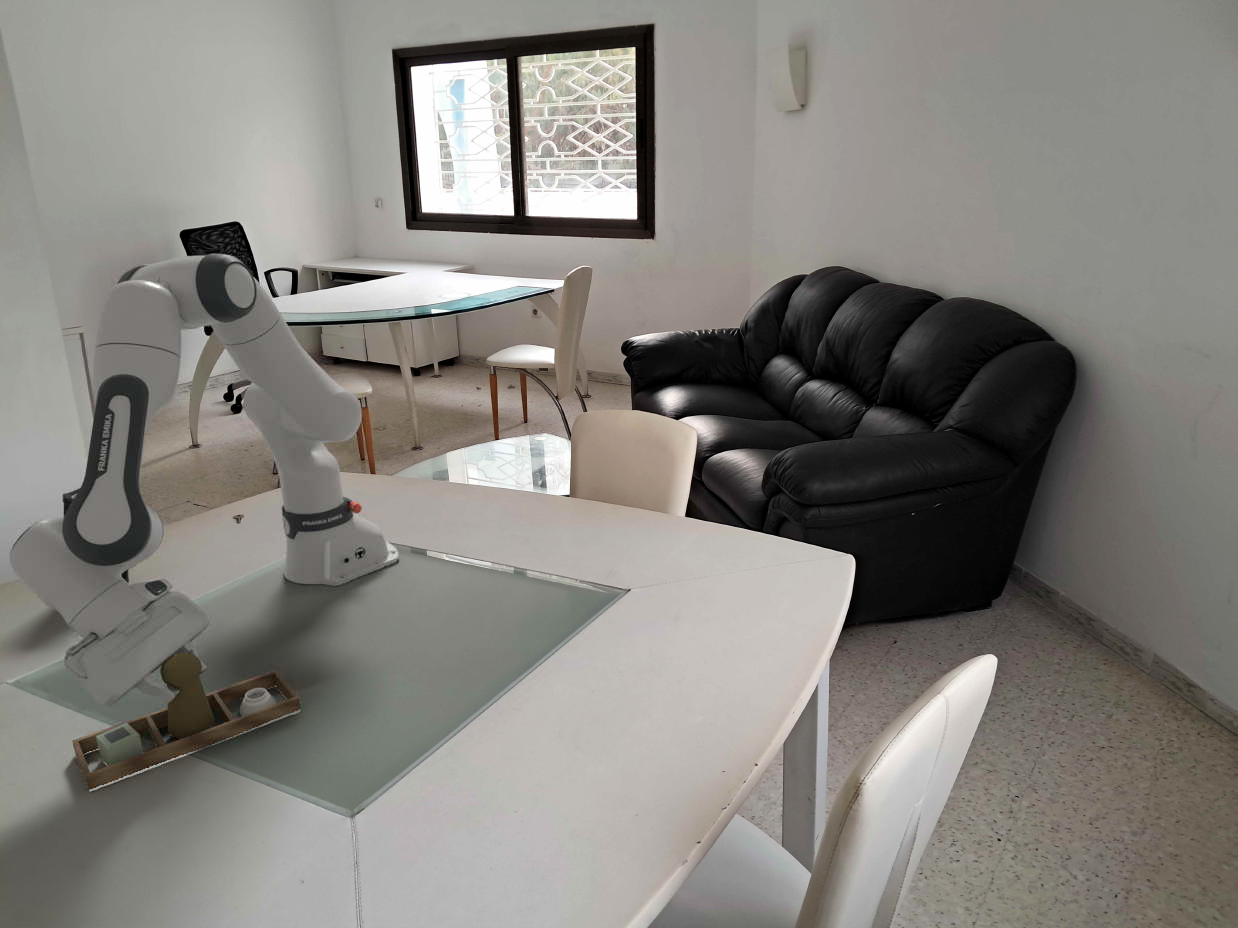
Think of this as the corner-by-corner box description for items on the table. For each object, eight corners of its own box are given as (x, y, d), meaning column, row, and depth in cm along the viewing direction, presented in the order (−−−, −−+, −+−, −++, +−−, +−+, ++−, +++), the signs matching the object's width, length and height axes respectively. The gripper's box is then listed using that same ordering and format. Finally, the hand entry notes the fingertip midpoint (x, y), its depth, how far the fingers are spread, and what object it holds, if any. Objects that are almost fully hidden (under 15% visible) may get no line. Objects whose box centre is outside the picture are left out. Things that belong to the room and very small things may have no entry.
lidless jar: (282, 708, 132) (264, 696, 135) (280, 691, 131) (262, 679, 134) (252, 724, 128) (234, 711, 131) (249, 707, 127) (231, 694, 130)
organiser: (278, 683, 138) (276, 669, 137) (301, 711, 131) (299, 697, 130) (75, 755, 121) (72, 740, 120) (89, 792, 114) (85, 776, 113)
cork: (196, 740, 122) (184, 673, 118) (158, 735, 123) (145, 667, 120) (223, 715, 128) (212, 649, 124) (186, 710, 129) (174, 645, 125)
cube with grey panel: (131, 746, 123) (126, 721, 122) (144, 758, 121) (138, 733, 119) (101, 760, 120) (95, 735, 119) (113, 773, 118) (107, 747, 116)
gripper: (67, 643, 111) (149, 717, 112) (172, 572, 130) (242, 636, 131) (44, 670, 113) (125, 742, 115) (151, 596, 132) (219, 659, 134)
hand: (188, 685), depth 123 cm, fingers closed on cork, 5 cm apart
